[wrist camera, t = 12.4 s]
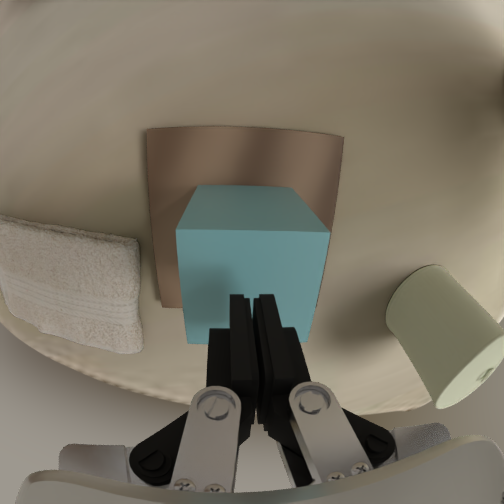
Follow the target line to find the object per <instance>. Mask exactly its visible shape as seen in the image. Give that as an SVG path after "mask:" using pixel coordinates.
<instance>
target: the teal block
mask: <svg viewBox="0 0 504 504" xmlns="http://www.w3.org/2000/svg"><path fill="white" fill-rule="evenodd" d="M329 238H330V231H329V230H328V229H327V228H326V227H325V225H324V224H323V223H322V222H321V221H320V219H319V218H318V217H317V216H316V215H315V214H314V212H313V211H312V210H311V209H310V208H309V207H308V205H307V204H306V203H305V202H304V201H303V200H302V199H301V197H300V196H299V195H298V194H297V193H296V192H295V191H294V190H293V189H292V188H290V187H270V186H242V185H198V186H197V188H196V190H195V192H194V194H193V196H192V198H191V200H190V202H189V203H188V205H187V207H186V209H185V211H184V213H183V215H182V217H181V219H180V222H179V224H178V226H177V228H176V243H177V256H178V267H179V278H180V287H181V296H182V305H183V313H184V321H185V328H186V335H187V342H188V344H208V341H209V329H210V328H229V302H230V294H244V298H250V305H251V313H252V314H253V300H254V298H259V294H274V296H275V300H276V304H277V308H278V312H279V316H280V320H281V324H282V327H295V329H296V331H297V335H298V338H299V341H300V342H307V340H308V336H309V332H310V328H311V324H312V320H313V316H314V312H315V307H316V303H317V299H318V294H319V289H320V285H321V280H322V275H323V270H324V265H325V260H326V255H327V249H328V244H329Z"/></svg>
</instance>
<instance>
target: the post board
mask: <svg viewBox="0 0 504 504" xmlns="http://www.w3.org/2000/svg"><path fill="white" fill-rule="evenodd" d="M343 144H344V137H341V136H335V135H328V134H321V133H313V132H304V131H295V130H284V129H271V128H255V127H223V126H202V127H171V128H155V129H147V169H148V190H149V205H150V218H151V229H152V238H153V247H154V256H155V264H156V271H157V278H158V285H159V291H160V298H161V304H162V307H163V308H183V305H182V296H181V287H180V278H179V267H178V256H177V243H176V228H177V226H178V224H179V222H180V219H181V217H182V215H183V213H184V211H185V209H186V207H187V205H188V203H189V202H190V200H191V198H192V196H193V194H194V192H195V190H196V188H197V186H198V185H242V186H270V187H290V188H292V189H293V190H294V191H295V192H296V193H297V194H298V195H299V196H300V197H301V199H302V200H303V201H304V202H305V203H306V204H307V205H308V207H309V208H310V209H311V210H312V211H313V212H314V214H315V215H316V216H317V217H318V218H319V219H320V221H321V222H322V223H323V224H324V225H325V227H326V228H327V229H328V230H329V231H330V237H331V231H332V225H333V219H334V213H335V206H336V200H337V193H338V186H339V178H340V170H341V162H342V153H343ZM329 242H330V238H329ZM328 248H329V244H328ZM327 253H328V249H327ZM326 258H327V255H326ZM325 264H326V260H325ZM324 269H325V265H324ZM323 274H324V270H323ZM322 278H323V275H322ZM321 283H322V280H321ZM320 288H321V285H320ZM319 292H320V289H319ZM318 297H319V294H318ZM317 301H318V299H317ZM316 306H317V303H316ZM315 308H316V307H315Z"/></svg>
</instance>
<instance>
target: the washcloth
mask: <svg viewBox="0 0 504 504" xmlns="http://www.w3.org/2000/svg"><path fill="white" fill-rule="evenodd" d="M140 267H141V265H140V253H139V244H138V242H137V238H136V239H132V238H127V237H120V236H115V235H113V234H109V235H105V234H104V233H96V232H88V231H84V230H79V229H74V228H72V227H68V228H67V227H64V226H62V225H61V226H60V225H50V224H45V225H43V224H42V223H37V222H29V221H25V220H20V219H17V218H13V217H8V216H4V215H2V214H0V288H1V290H2V293H3V296H4V299H5V304H6V305H7V306H8V309H9V311H10V313H12V315H13V316H15V317H17V318H21V319H22V320H24V321H27V322H28V323H31V324H32V325H34V326H36V327H37V328H38V330H39V331H40V332H41V333H44V334H52V335H54V336H58V337H62V338H65V339H67V340H70V341H73V342H75V343H80V344H82V345H86V346H92V347H97V348H100V349H104V350H107V351H111V352H115V353H118V354H132V353H139V352H140V351H141V350H142V349H143V347H144V346H143V344H144V339H143V332H142V323H141V320H140V319H141V318H140V316H139V314H138V303H139V302H138V297H139V293H140Z"/></svg>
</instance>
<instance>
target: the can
mask: <svg viewBox="0 0 504 504" xmlns="http://www.w3.org/2000/svg"><path fill="white" fill-rule="evenodd" d="M386 324H387V326H388V328H389V330H390V331H392V332H393V334H394V335H395V336H396V338H397V339H398V341H399V342H400V344H401V346H402V347H403V349H404V350H405V352H406V354H407V355H408V357H409V359H410V360H411V362H412V364H413V365H414V367H415V369H416V371H417V372H418V374H419V376H420V377H421V379H422V381H423V383H424V385H425V387H426V389H427V390H428V392H429V394H430V396H431V398H432V400H433V402H434V405H435V407H436V408H437V409H443V408H447V407H449V406H451V405H454V404H456V403H457V402H459V401H461V400H462V399H464V398H465V397H467V396H468V395H469V394H471V393H472V392H473V391H474V390H476V389H477V388H478V387H479V386H480V385H481V384H482V383H483V382H484V381H485V380H486V379H487V378H488V377H489V376H490V375H491V374H492V373H493V372H494V370H495V369H496V368H497V367H498V365H499V364H500V362H501V361H502V359H503V358H504V329H502V327H501V326H500V325H499V324H498V323H497V322H496V321H495V320H494V319H493V317H492V316H491V315H490V314H489V313H488V312H487V311H486V310H485V309H484V308H483V307H482V306H481V305H480V304H479V303H478V302H477V301H476V300H475V299H474V298H473V297H472V296H471V295H470V294H469V293H468V292H467V291H466V290H465V289H464V288H463V287H462V286H461V285H460V284H459V283H458V282H457V281H456V280H455V279H454V278H453V277H452V276H451V275H450V274H449V272H448V271H447V270H446V269H445V268H444V267H442V266H439V265H430V266H426V267H423V268H421V269H419V270H417V271H416V272H414V273H413V274H411V275H410V276H409V277H408V278H407V279H406V280H404V281H403V282H402V284H401V285H400V286H399V287H398V288H397V290H396V291H395V293H394V294H393V296H392V297H391V299H390V302H389V304H388V307H387V310H386Z"/></svg>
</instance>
